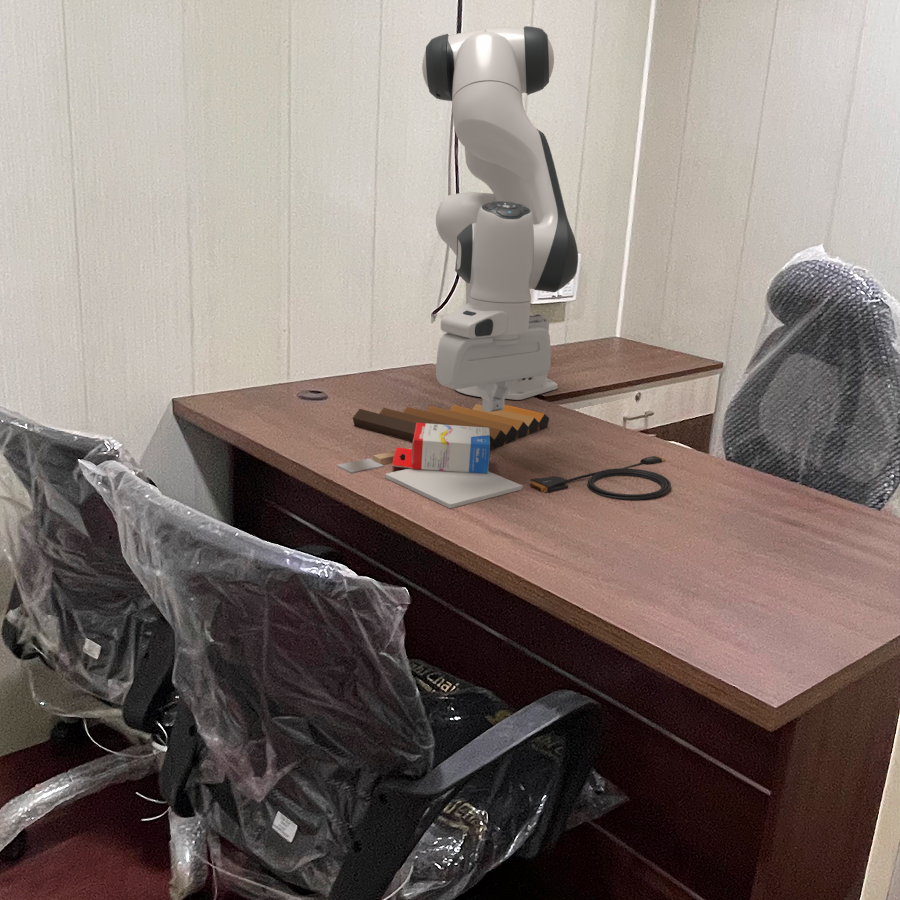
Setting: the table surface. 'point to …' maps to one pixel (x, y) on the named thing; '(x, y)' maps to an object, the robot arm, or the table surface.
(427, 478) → the mat
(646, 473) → the cable
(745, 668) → the table surface
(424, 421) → the pan flute
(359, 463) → the turner
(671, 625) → the table surface
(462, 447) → the ink box
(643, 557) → the table surface
